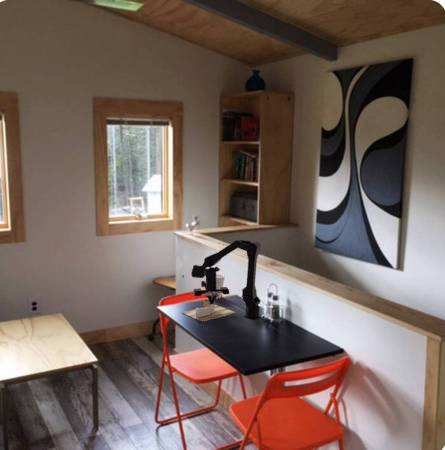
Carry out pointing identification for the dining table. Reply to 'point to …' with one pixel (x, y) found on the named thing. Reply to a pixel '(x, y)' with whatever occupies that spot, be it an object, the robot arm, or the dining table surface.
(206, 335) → the dining table surface
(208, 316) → the card
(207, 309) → the fence fixed
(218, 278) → the foam cup
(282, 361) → the dining table surface
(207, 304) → the gate panel
